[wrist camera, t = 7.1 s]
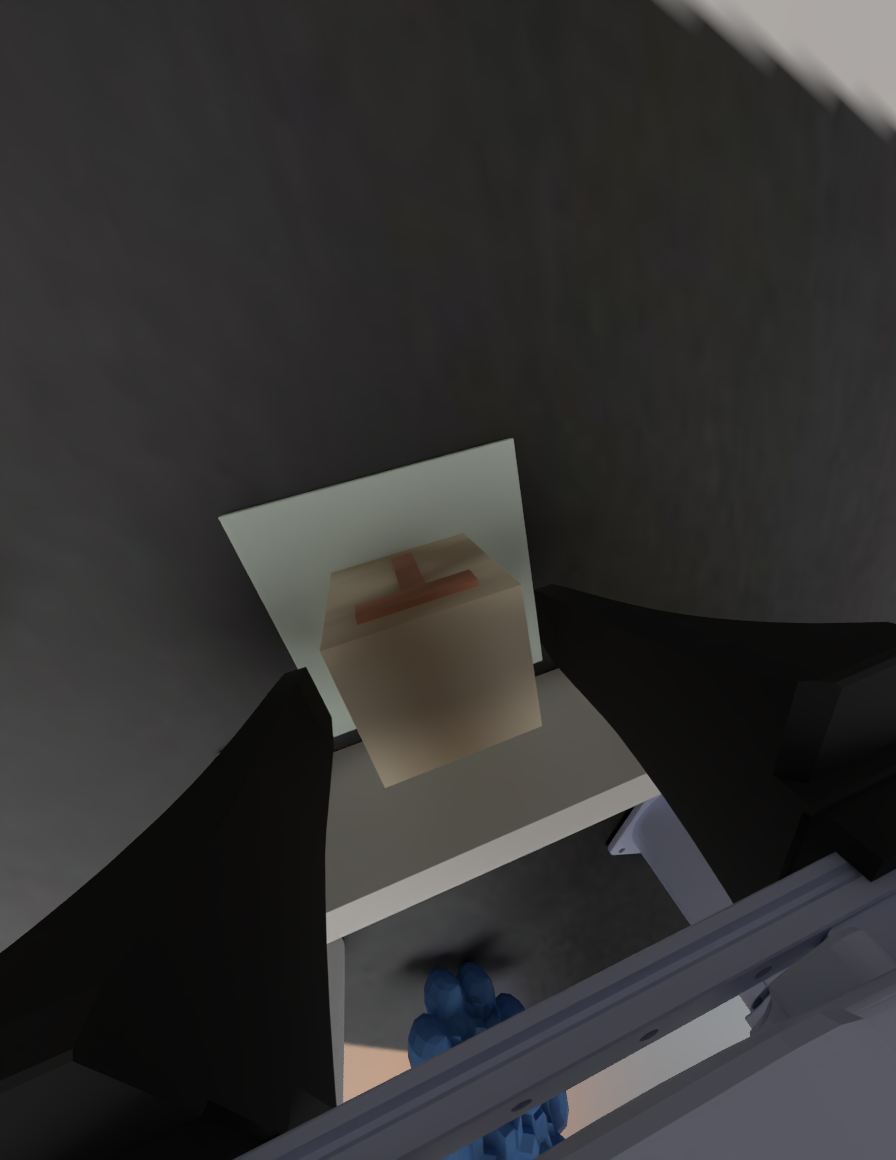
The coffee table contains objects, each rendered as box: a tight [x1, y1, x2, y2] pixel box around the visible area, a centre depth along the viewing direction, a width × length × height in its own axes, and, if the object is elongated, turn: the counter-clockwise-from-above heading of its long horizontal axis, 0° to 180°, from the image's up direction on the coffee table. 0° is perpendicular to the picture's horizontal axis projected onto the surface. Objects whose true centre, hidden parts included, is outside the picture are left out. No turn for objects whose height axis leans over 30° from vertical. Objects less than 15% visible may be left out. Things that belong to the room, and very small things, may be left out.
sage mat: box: [218, 438, 542, 737], centre depth 14 cm, size 10×10×1 cm
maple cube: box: [320, 533, 542, 788], centre depth 11 cm, size 5×5×5 cm
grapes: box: [408, 962, 569, 1160], centre depth 21 cm, size 12×7×12 cm, turn 55°
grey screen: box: [217, 668, 661, 944], centre depth 14 cm, size 20×6×6 cm, turn 103°
